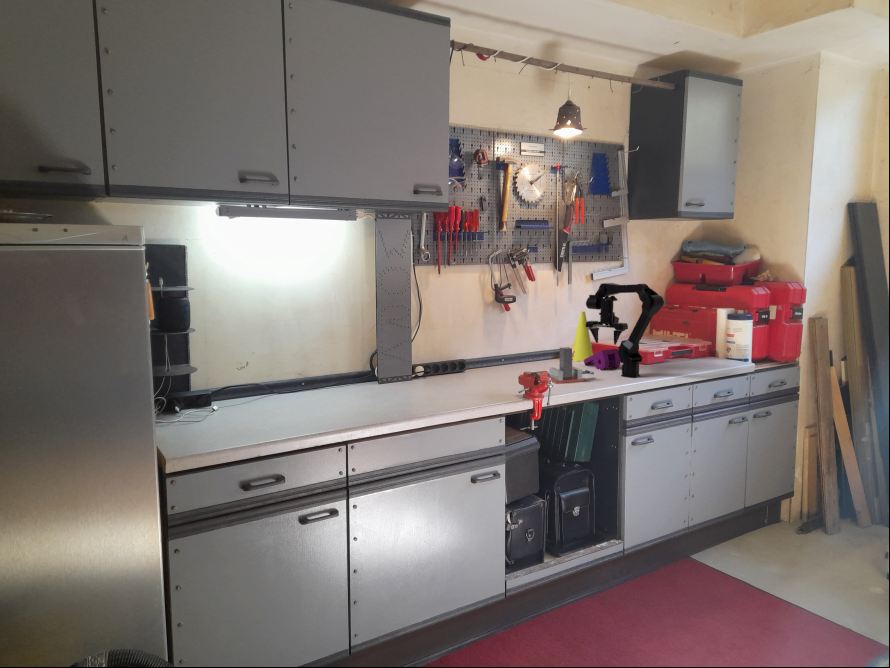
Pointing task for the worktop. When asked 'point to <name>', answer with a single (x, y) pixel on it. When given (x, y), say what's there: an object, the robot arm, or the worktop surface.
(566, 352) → the steel bar
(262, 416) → the worktop surface
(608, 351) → the mounting bracket
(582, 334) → the cone
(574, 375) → the bench vise
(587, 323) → the robot arm
